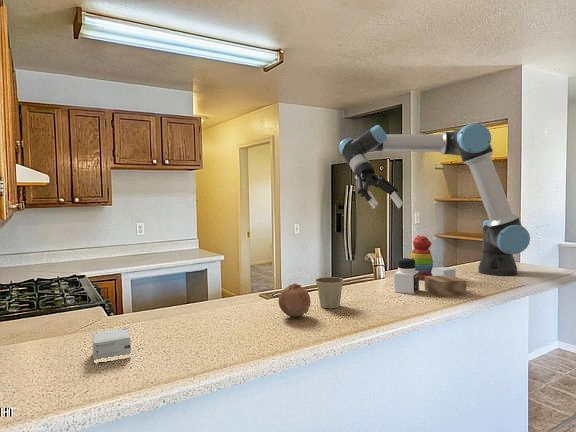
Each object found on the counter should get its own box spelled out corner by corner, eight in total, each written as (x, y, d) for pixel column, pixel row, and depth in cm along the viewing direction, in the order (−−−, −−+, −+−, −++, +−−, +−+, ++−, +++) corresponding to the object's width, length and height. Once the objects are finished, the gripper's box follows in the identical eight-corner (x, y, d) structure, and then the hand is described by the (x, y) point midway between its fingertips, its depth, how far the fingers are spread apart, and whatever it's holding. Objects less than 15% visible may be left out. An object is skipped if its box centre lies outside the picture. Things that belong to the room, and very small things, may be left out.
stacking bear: (438, 280, 165) (438, 236, 164) (413, 280, 165) (413, 237, 164) (430, 275, 175) (429, 234, 174) (406, 275, 176) (406, 234, 175)
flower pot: (350, 305, 131) (350, 279, 130) (333, 312, 124) (332, 284, 123) (327, 301, 137) (327, 275, 137) (309, 307, 130) (308, 280, 130)
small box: (93, 366, 89) (92, 343, 89) (93, 353, 96) (92, 332, 96) (131, 359, 92) (130, 336, 92) (128, 347, 99) (127, 327, 99)
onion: (294, 311, 126) (294, 279, 126) (317, 317, 120) (316, 283, 119) (272, 318, 120) (271, 284, 119) (295, 324, 113) (294, 289, 112)
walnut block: (450, 288, 150) (450, 275, 150) (465, 294, 141) (465, 280, 140) (424, 290, 149) (424, 276, 149) (438, 296, 139) (438, 282, 139)
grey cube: (444, 281, 163) (443, 266, 162) (455, 284, 157) (455, 269, 157) (432, 283, 160) (432, 268, 160) (443, 286, 155) (443, 270, 154)
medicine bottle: (414, 294, 143) (413, 260, 142) (394, 292, 147) (393, 259, 146) (419, 290, 149) (419, 257, 148) (399, 288, 153) (399, 256, 152)
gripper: (379, 175, 176) (405, 212, 164) (334, 173, 162) (359, 213, 151) (388, 162, 171) (416, 199, 159) (343, 159, 157) (369, 199, 146)
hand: (388, 206), depth 155 cm, fingers open, 13 cm apart
